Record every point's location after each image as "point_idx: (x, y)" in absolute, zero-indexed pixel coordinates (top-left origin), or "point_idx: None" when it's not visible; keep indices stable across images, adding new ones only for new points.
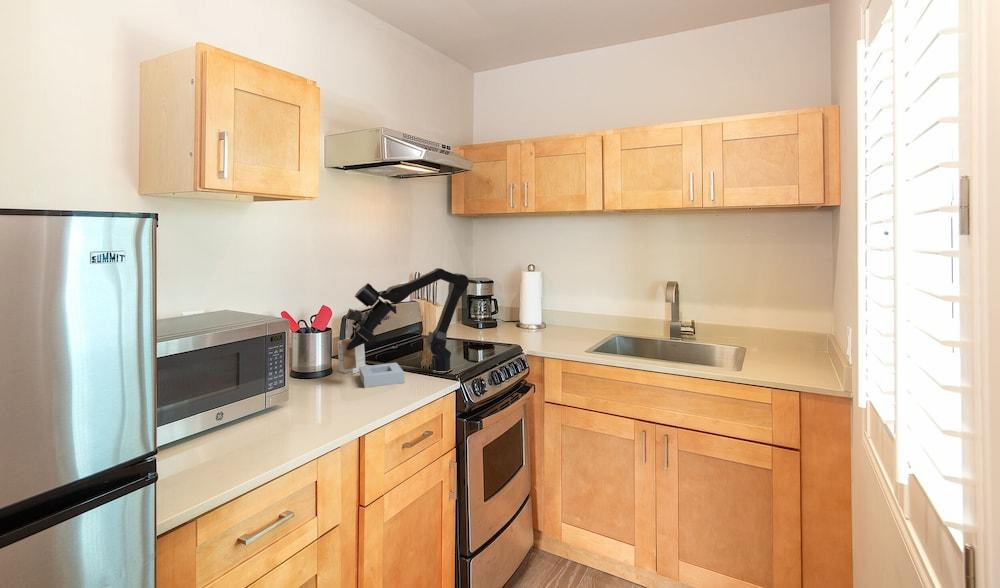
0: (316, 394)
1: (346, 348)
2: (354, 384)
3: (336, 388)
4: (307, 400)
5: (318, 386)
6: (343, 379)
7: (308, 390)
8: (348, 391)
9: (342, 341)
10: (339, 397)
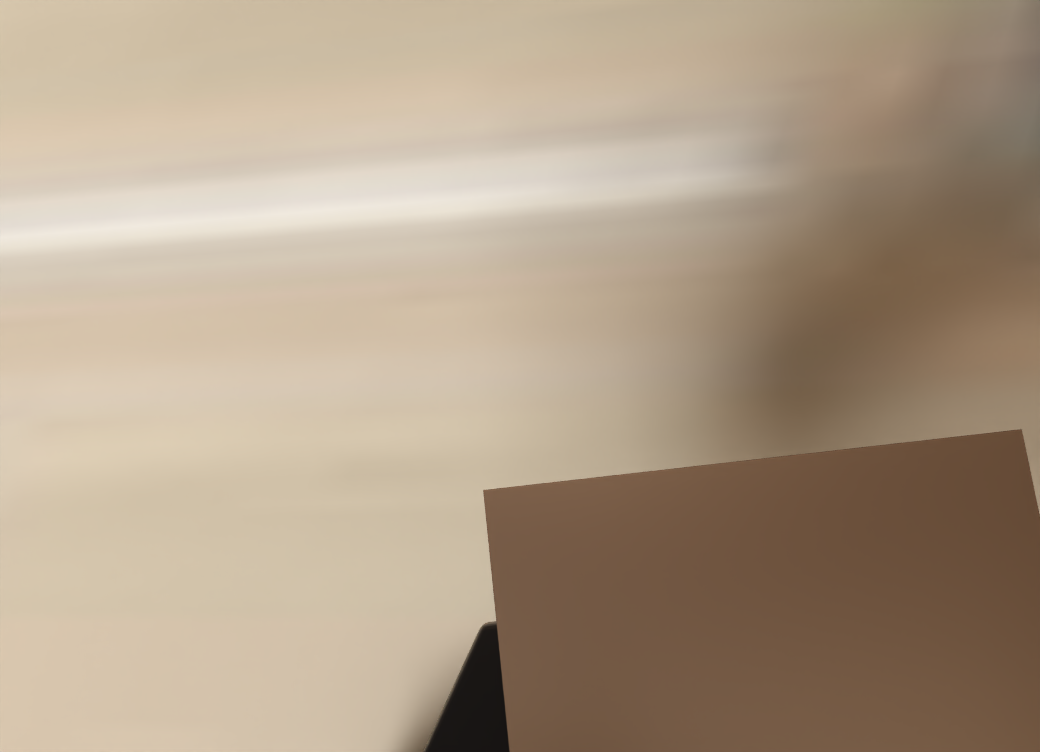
0: (338, 172)
1: None
2: None
3: (501, 403)
4: (151, 95)
5: (674, 166)
6: None
7: (539, 62)
8: (308, 567)
9: (588, 484)
10: (107, 456)
